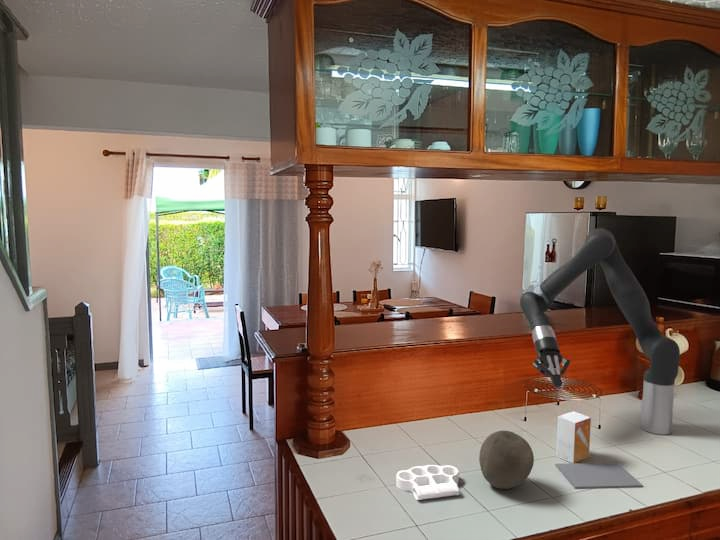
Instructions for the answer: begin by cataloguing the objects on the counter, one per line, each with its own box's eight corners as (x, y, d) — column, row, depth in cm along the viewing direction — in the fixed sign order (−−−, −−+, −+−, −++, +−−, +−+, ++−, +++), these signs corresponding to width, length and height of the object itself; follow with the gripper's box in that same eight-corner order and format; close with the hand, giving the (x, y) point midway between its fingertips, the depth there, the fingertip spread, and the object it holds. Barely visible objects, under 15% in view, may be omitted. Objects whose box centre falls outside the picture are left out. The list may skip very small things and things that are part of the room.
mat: (555, 465, 152) (555, 463, 152) (617, 463, 152) (617, 462, 152) (574, 488, 139) (574, 486, 139) (642, 486, 139) (642, 485, 139)
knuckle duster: (406, 505, 132) (391, 477, 146) (470, 497, 136) (450, 470, 150) (406, 493, 132) (391, 466, 146) (470, 485, 135) (450, 459, 150)
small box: (573, 464, 152) (575, 423, 151) (555, 456, 157) (556, 416, 156) (589, 457, 156) (591, 417, 155) (571, 449, 162) (573, 410, 160)
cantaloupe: (504, 504, 131) (505, 449, 130) (468, 480, 144) (469, 429, 142) (543, 491, 138) (544, 438, 136) (506, 468, 150) (507, 419, 149)
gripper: (529, 335, 174) (541, 381, 163) (567, 335, 175) (582, 381, 164) (523, 347, 180) (535, 392, 169) (560, 346, 181) (574, 391, 170)
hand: (558, 386), depth 167 cm, fingers closed
